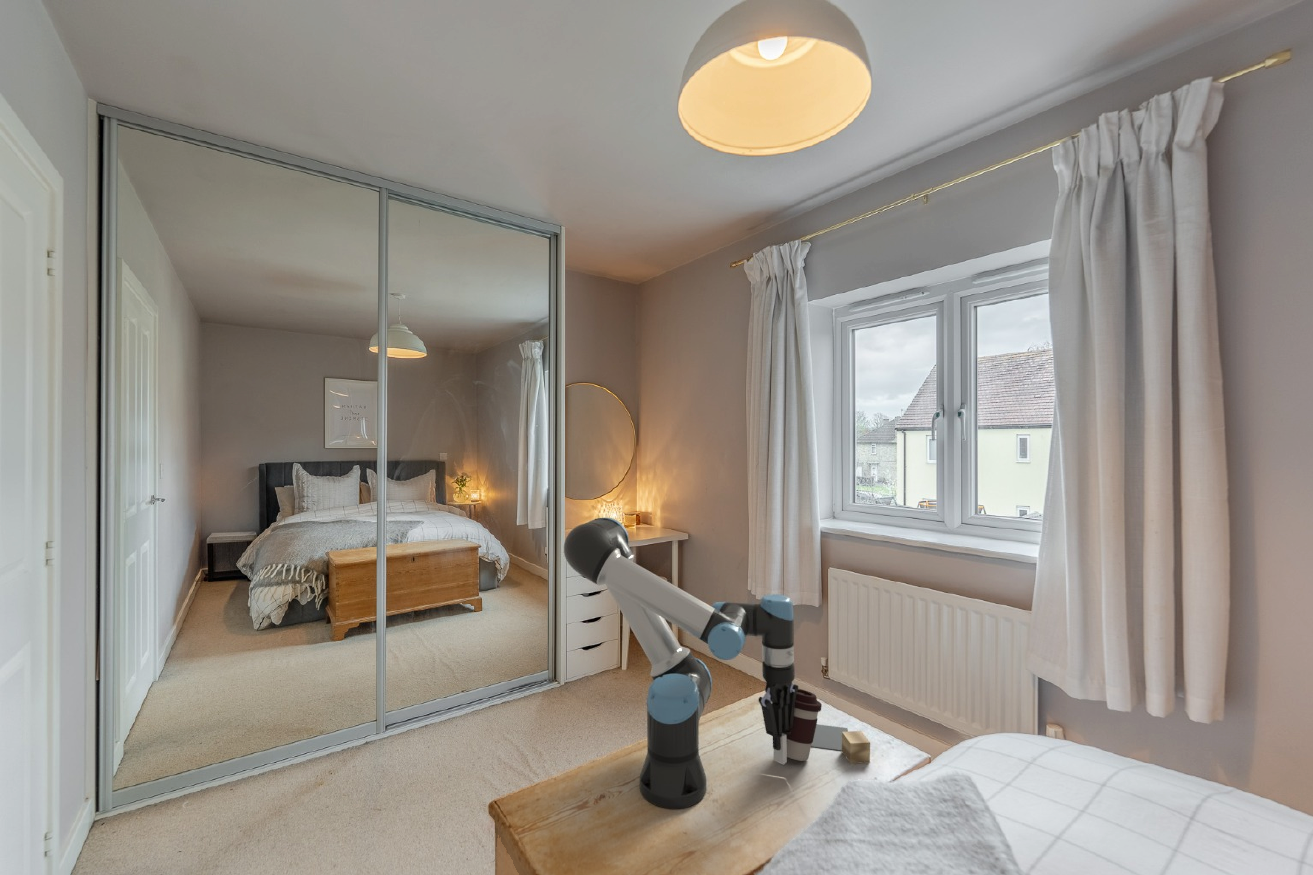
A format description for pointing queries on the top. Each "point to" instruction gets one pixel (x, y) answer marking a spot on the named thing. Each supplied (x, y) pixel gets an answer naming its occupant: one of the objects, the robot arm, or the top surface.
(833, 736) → the display mat
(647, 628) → the robot arm
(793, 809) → the top surface
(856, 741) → the oak block
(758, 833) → the top surface
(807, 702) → the coffee cup
